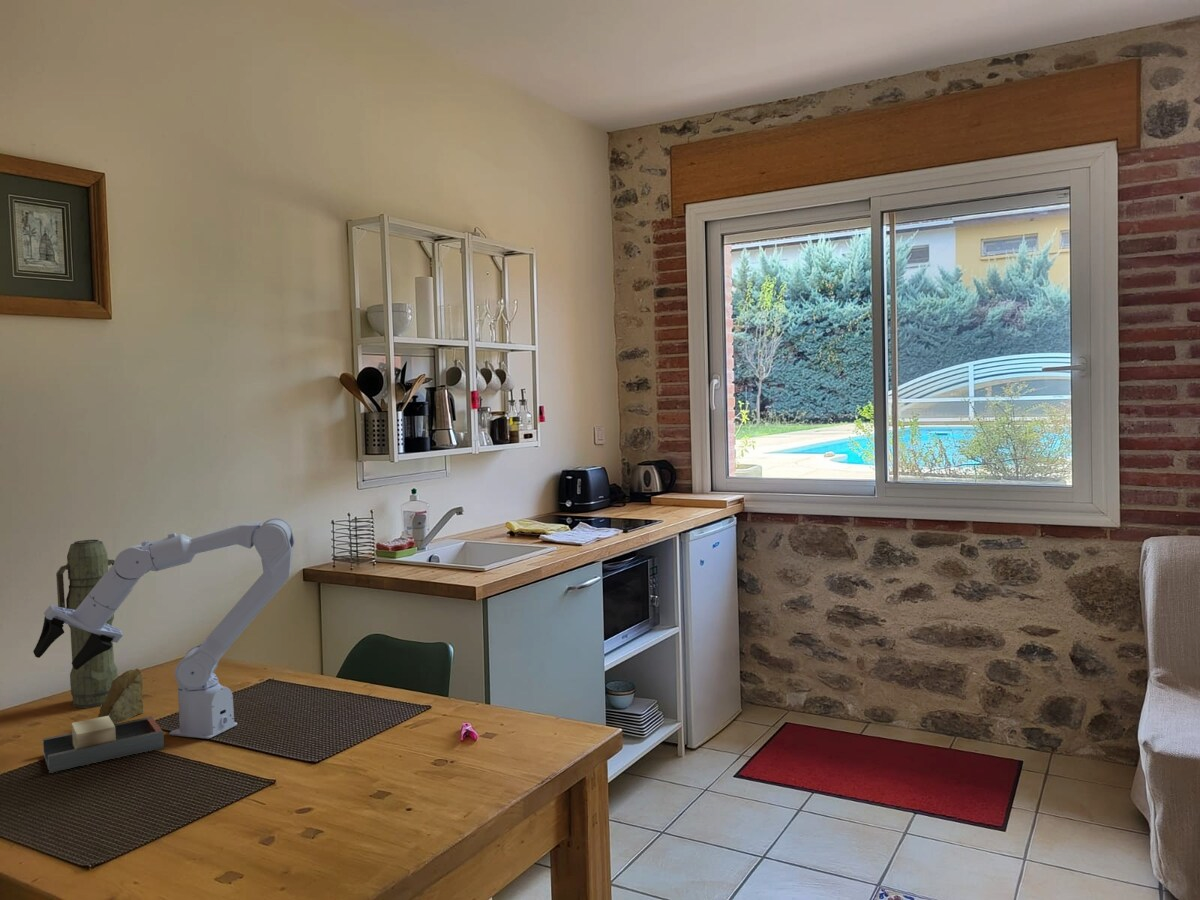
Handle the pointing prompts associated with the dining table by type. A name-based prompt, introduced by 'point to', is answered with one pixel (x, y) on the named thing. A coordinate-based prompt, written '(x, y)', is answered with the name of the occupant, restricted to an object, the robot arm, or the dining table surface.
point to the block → (93, 732)
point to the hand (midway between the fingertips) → (55, 660)
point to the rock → (124, 697)
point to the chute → (104, 745)
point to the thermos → (100, 671)
